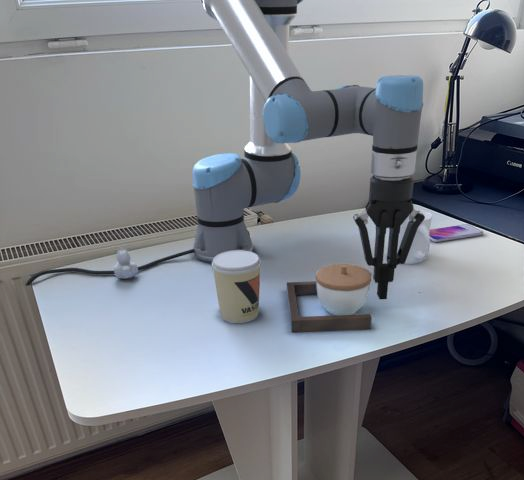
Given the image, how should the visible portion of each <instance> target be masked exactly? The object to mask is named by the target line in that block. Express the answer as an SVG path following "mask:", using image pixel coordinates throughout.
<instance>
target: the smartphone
mask: <svg viewBox="0 0 524 480" xmlns="http://www.w3.org/2000/svg"><path fill="white" fill-rule="evenodd" d="M483 235H484V231H483V230H480V229H479V228H478V227H476V226H473V225H471V224H469V223H464V224H457V225H451V226H445V227H437V228H430V233H429V236H430V241H432V242H434V243H441V242H447V241H453V240H458V239H465V238H470V237H478V236H483Z"/></svg>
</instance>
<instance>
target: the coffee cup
mask: <svg viewBox="0 0 524 480" xmlns="http://www.w3.org/2000/svg"><path fill="white" fill-rule="evenodd" d="M261 265H262V261H261V259H260V256H259V255H258V254H257V253H255V252H254V251H253V252H250V251H244V250H233V251H227V252H223V253H220V254H218V255H217V256H215V257H214V259H213V262H212V263H211V267H212V271H213V278H214V285H215V289H216V297H217V302H218V303H217V304H218V307H219V308H218V309H219V313H220V314H219V315H220V317H221V319H222V320H223V321H225V322H227V323H230V324H246V323H248V322H252V321H254V320H256V319H257V317H258V316H259V313H260V291H261V289H260V288H261V287H260V286H261Z"/></svg>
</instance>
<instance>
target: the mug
mask: <svg viewBox="0 0 524 480" xmlns="http://www.w3.org/2000/svg"><path fill="white" fill-rule="evenodd" d="M414 209H415V208H414ZM415 210H417V211H420V212H421V213H422V214H423V215H424V216H425V219H424V220H423V222H422V223H421V224H420V225H419V227H418V229H417V231H416V234H415V237H414V240H413V242H412V245H411V248H410V251H409V253H408V256H407V259H406V261H405V263H404V264H405V265H415V264H419V263H422V262H424V261H425V259H426V258H427V257H428V255H429V252H430V246H431V240H430V236H429V233H430V230H431V224H432V218H433V215H432V213H430V212H428V211H426V210H422V209H415ZM409 216H410V215H409ZM409 216H408V217H407V219H406V220H405V221H404V222H403V224H402V225H401V226H400V233H399V238H398V248H397V253H398V250H399V247H400V244H401V241H402V239H403V236H404V233H405V230H406V227H407V224H408V222H409ZM404 264H403V265H404Z"/></svg>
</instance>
